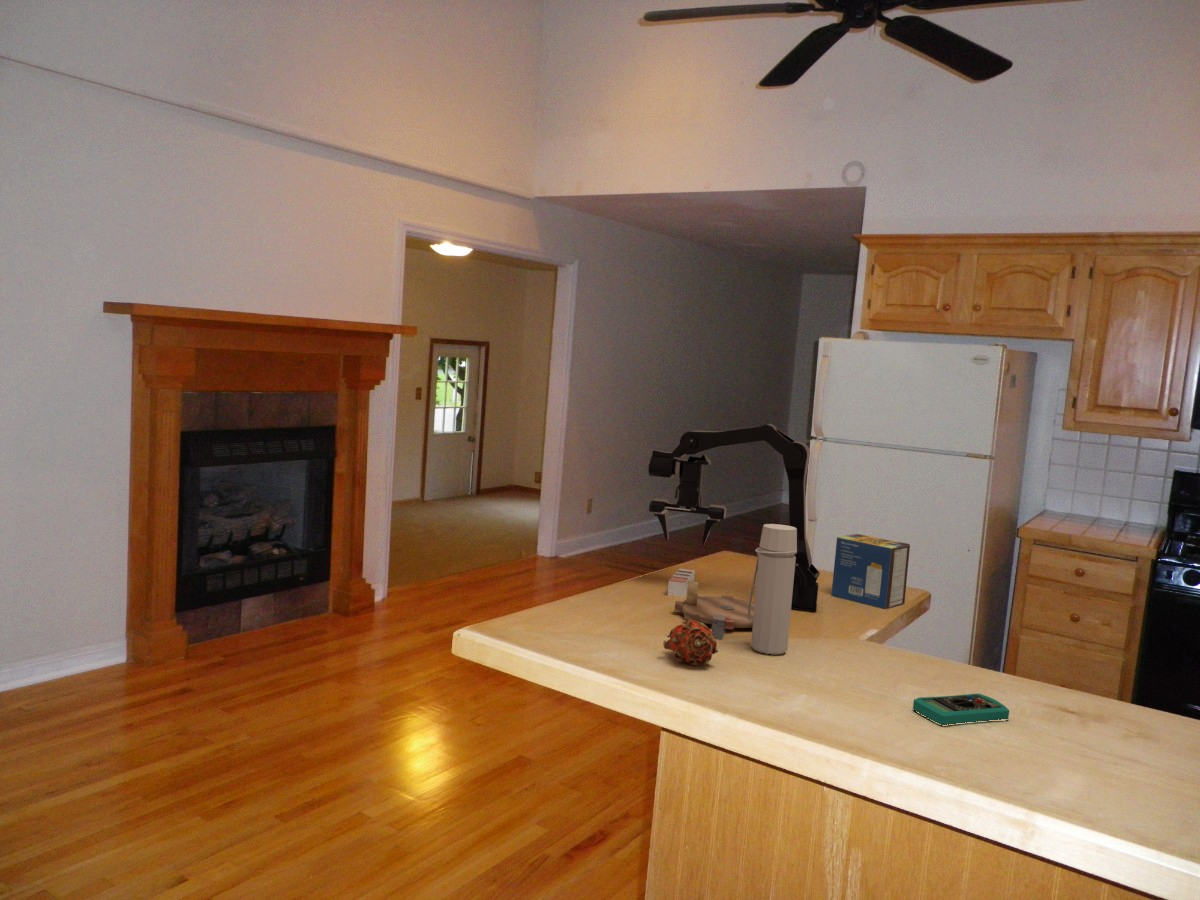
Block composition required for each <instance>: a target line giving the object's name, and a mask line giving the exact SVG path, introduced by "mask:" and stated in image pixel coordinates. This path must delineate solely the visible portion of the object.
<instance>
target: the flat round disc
mask: <svg viewBox="0 0 1200 900" xmlns="http://www.w3.org/2000/svg"><path fill="white" fill-rule="evenodd" d="M699 586H700V585H699V582H698V581H695V580H694V581H688V587H687V594H686V599H685V600H683V601H678V600H675V604H674V612H675V611H676V612H681V613H682V614H683V616H684V617H683V619H684V620H687V621H689V620H693V621H698V622H701V623H704V624H709V625H712V619H713V617H714V615H715V614H717V615H724V616H726V628H725V630H726V629H727V630H734V628H740V629H741V628H742V629H745V628H746V629H747V628H749V629H751V628H752V629H753V621H752V622H751V621H748V604H749V600H745V599H741V598H735V597H734V596H732V595H731V596H730V595H722V594H721V595H720V596H700V595H698V593H699ZM754 606H755V601H751V607H750V617H751V620H753V618H754Z"/></svg>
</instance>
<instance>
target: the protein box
mask: <svg viewBox="0 0 1200 900" xmlns="http://www.w3.org/2000/svg"><path fill="white" fill-rule="evenodd" d="M910 548H911V544H910V543H907V542H906V543H905V542H902V541H895V540H890V539H884V538H880V537H874V536H870V535H864V534H859V533H854V534H848V535H846V534H845V535H839V536H836V543H835V555H834V565H833V575H832V584H831V591H830V594H831V597H836V598H838V599H843V600H847V601H851V602H854V603H859V604H863V605H866V606H871V607H874V608H878V609H882V610H887V609H890V608H894V606H895V607H898V606H902V605H905V602H906V590H907V582H908V569H909V560H910V559H909V558H910V551H911V550H910ZM897 605H898V606H897Z"/></svg>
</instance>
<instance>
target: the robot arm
mask: <svg viewBox="0 0 1200 900" xmlns="http://www.w3.org/2000/svg"><path fill="white" fill-rule="evenodd" d="M761 441H762V442H763V441H765V443H767V444H768V445H770V447H771V448H773V449H774V450H775V451H776V452H777V453H779V454H780V455H782V459H783V464H784V469H785V473H786V476H787V480H788V513H789V516H788V518H789V519H788V520H789V521H788V522H789V524H788V526H792V527H795V528H796V529H797V553H796V554H794V556H795V557H796V561H795V572H794V583H793V594H792V604H791V610H798V611H806V612H812V613H813V612H814V613H816V612H817V611H818V595H819V594H818V593H819V586H820V585H819V582H818V579H819V577H820V571H819V570H818V568H816V566H815V565H814V564H813V559H812V555H811V550H810V546H809V542H808V538H807V515H806V514H807V512H806V507H807V506H806V505H807V504H806V503H807V502H806V501H807V500H806V477H807V472H808V468H809V462H810V456H811V451H810V447H809V446H808V445H807V444H806V443H805V442H802V441H799V440H798V441H795V440H794V439H793V438H791V437H790V436H789V435H787V434H786V433H784V432H783V431H781V430H779V429H778V428H777V426H776V425H773V424H772V423H767V424H763V425H760V426H758V425H756V426H751V427H743V428H736V429H729V430H723V431H714V430H713V431H712V430H691V431H686V432H684V433H683V434H682V436H681V437H680V439H679V443H678V445H677V446H676V448H675V449H673V451H672V452H671V451H663V450H659V449H654V450H653V451H652V455H651V457H650V461H649V463H648V475H649V477H650V478H660V479H669V480H673V478H674V477H675V476H678V483H677V486H676V488H675V493H674V499H675V500H676V503H671V502H669V499H667V498H666V499H665V498H654V499H652V500H651V501H650V502H649V504H648V512H651V513H653V516H656V517H657V519H658V522H659V523H660V526H661V530H662V533H663V536H664V539H665V542H668V541H669V537H670V536H669V535H670V532H669V531H670V530H669V529H670V528H669V517H670V516H669V515H670V511H671V512H680V513H688V514H689V513H691V514H697V515H698V514H699V515H707V516H708V517H707V518H706V519H705V523H704V524H705V525H704V529H703V535H702V540H701V541H702V543H701V545H702V546H705V545H706V542H707V539H708V537H709V535H710V532H711V531H712V530H711V529H712V528H713V526H714V524H717V523H719V522H720V521H721V520H724V519H726V517H727V513H728V511H727V507H726V506H725V505H721V504H720V505H719V504H710V505H709V506H702V505H703V496H704V495H703V492H702V484H703V483H702V481H703V471H704V470H703V469H704V466H709V465H711V464H712V461H711V460H710V459H709V457H708V456H707V454H702V455H701V456H692V455H697V454H699V453H703V452H706V451H708V450H712V449H715V448H718V447H727V446H732V445H739V444H746V443H748V444H749V443H755V442H761ZM688 455H690V456H689V457H688V459H683V458H682V457H685V456H688Z"/></svg>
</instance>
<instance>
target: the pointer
mask: <svg viewBox="0 0 1200 900" xmlns="http://www.w3.org/2000/svg"><path fill="white" fill-rule="evenodd" d="M725 628H726V616H724V615H717V614H715V615H714V617H713V619H712V624H711V630H710V631H711V632H712V633H713V637H714V639H715V640H722V639H723V640H724V638H725V635H726V629H725Z"/></svg>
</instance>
